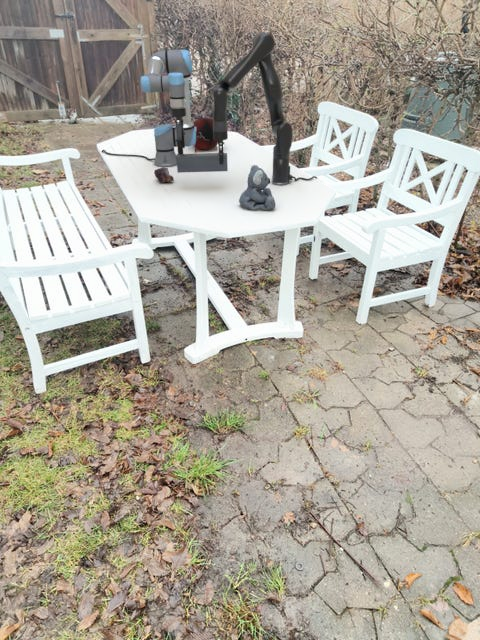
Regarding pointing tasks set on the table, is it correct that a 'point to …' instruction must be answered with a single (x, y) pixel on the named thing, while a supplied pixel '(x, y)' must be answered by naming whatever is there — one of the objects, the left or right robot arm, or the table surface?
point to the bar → (201, 162)
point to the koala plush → (257, 191)
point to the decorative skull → (204, 134)
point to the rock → (163, 175)
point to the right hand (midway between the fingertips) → (221, 162)
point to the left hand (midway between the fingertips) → (181, 151)
